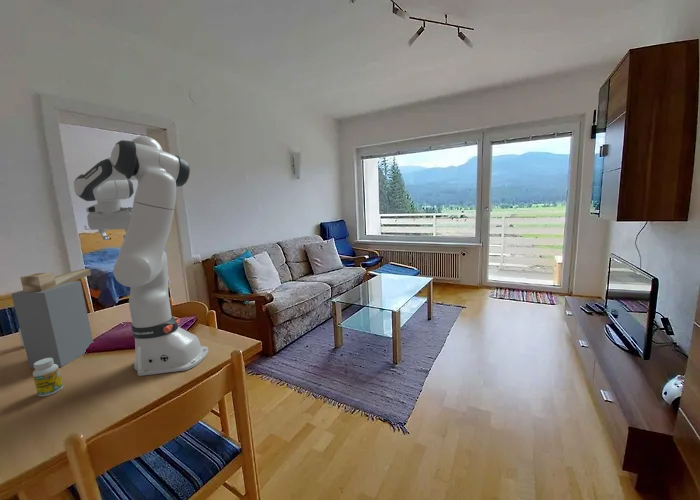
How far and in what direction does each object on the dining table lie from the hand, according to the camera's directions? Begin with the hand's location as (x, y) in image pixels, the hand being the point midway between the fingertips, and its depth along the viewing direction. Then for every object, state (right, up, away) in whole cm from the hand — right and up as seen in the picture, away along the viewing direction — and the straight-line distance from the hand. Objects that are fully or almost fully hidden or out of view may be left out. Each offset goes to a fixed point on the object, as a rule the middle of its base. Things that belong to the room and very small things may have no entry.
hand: (116, 239), depth 134 cm
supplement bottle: (+15, -46, -45) cm, 66 cm away
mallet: (-1, -16, -25) cm, 30 cm away
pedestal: (0, -43, -25) cm, 50 cm away
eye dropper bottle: (-22, -42, -14) cm, 49 cm away
